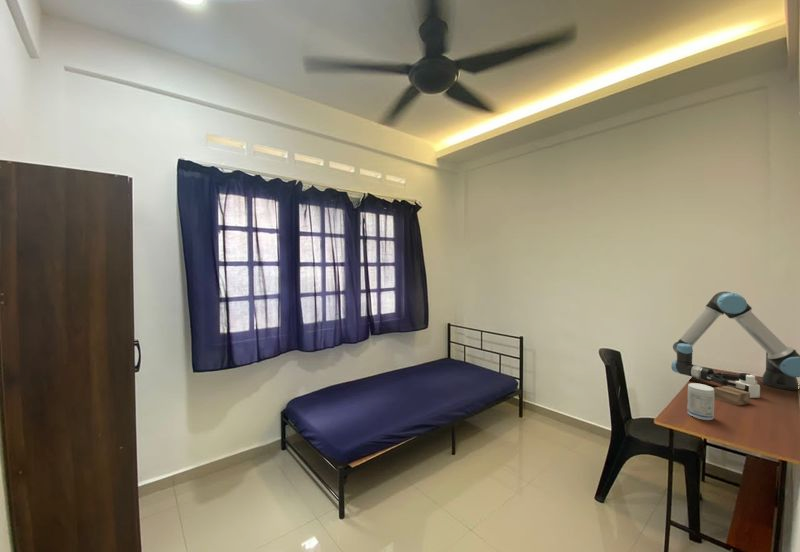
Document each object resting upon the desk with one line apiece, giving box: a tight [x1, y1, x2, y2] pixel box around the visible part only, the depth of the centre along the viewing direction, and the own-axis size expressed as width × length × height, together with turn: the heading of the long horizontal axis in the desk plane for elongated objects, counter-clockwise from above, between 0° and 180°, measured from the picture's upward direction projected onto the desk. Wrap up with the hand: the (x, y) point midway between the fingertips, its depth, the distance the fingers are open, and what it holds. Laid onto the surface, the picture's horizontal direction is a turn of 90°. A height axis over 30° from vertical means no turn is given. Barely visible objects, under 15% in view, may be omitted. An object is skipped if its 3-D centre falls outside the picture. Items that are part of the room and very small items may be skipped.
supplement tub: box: [686, 382, 715, 421], centre depth 157 cm, size 10×10×15 cm
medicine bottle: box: [733, 372, 761, 399], centre depth 181 cm, size 7×7×12 cm
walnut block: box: [713, 385, 751, 406], centre depth 175 cm, size 10×10×6 cm
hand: (750, 385), depth 180 cm, fingers open, 13 cm apart
